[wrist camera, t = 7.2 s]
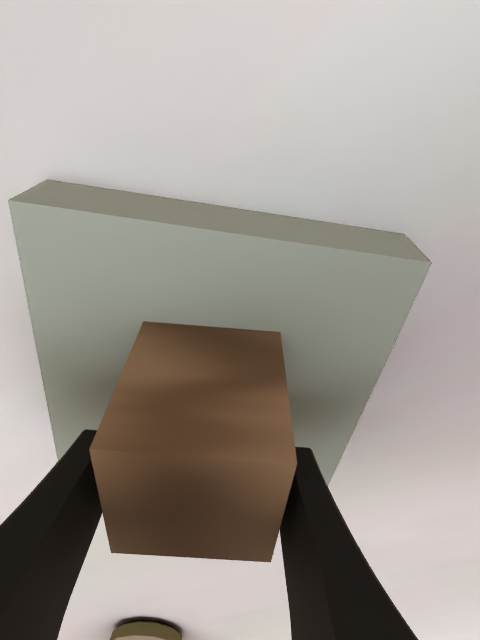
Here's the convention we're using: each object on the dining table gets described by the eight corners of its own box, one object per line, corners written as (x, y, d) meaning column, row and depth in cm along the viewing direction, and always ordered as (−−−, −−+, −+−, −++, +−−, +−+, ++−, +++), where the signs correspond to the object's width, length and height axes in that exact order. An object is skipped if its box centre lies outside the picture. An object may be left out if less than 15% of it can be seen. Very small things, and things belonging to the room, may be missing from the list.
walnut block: (280, 332, 12) (297, 463, 8) (264, 424, 15) (270, 562, 11) (143, 321, 12) (89, 449, 8) (150, 416, 15) (111, 552, 10)
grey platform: (397, 227, 13) (432, 262, 11) (313, 443, 20) (322, 496, 17) (55, 175, 13) (8, 200, 10) (84, 418, 19) (59, 470, 17)
